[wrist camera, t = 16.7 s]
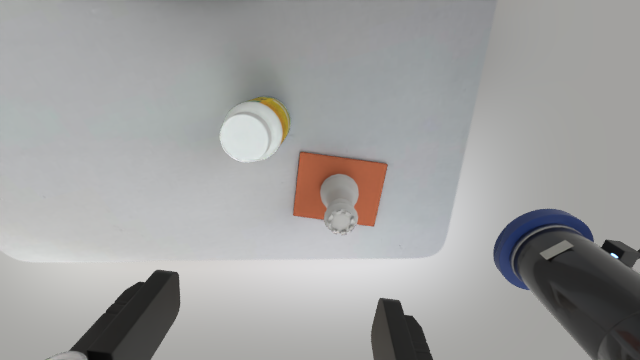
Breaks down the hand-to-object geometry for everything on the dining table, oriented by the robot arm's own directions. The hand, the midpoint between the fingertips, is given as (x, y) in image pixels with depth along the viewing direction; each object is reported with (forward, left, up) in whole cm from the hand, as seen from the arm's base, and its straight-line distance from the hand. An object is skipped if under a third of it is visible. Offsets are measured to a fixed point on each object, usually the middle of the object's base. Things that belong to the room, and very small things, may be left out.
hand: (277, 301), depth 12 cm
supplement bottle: (+5, -3, -24) cm, 25 cm away
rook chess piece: (-4, +4, -23) cm, 24 cm away
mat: (-4, +4, -24) cm, 24 cm away
